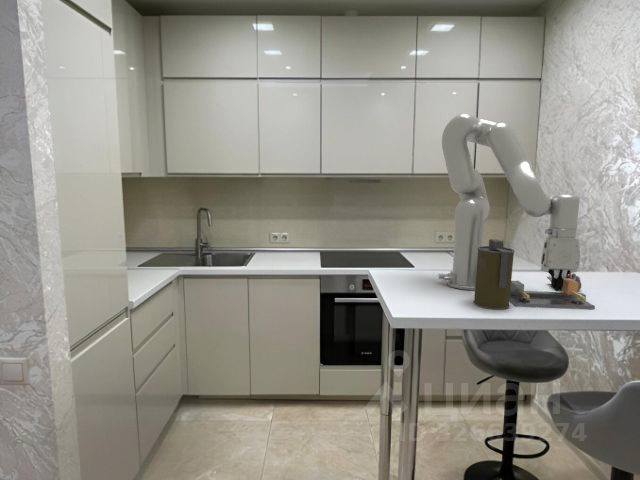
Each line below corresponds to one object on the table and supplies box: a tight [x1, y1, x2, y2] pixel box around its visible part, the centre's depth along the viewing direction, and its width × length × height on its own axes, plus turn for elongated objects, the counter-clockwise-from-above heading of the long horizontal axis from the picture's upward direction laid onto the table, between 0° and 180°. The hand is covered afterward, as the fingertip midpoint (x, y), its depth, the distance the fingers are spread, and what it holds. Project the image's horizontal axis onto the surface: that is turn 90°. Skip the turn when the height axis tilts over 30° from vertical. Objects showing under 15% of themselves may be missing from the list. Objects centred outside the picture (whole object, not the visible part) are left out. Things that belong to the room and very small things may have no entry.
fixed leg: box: [510, 280, 530, 300], centre depth 135 cm, size 3×12×4 cm, turn 176°
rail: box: [510, 290, 587, 301], centre depth 138 cm, size 24×2×2 cm, turn 86°
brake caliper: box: [546, 270, 582, 292], centre depth 151 cm, size 11×11×12 cm
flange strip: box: [509, 298, 596, 310], centre depth 132 cm, size 23×6×1 cm, turn 86°
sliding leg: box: [560, 279, 587, 302], centre depth 134 cm, size 3×12×5 cm, turn 176°
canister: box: [473, 238, 515, 311], centre depth 129 cm, size 11×10×20 cm
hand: (556, 289), depth 138 cm, fingers closed
